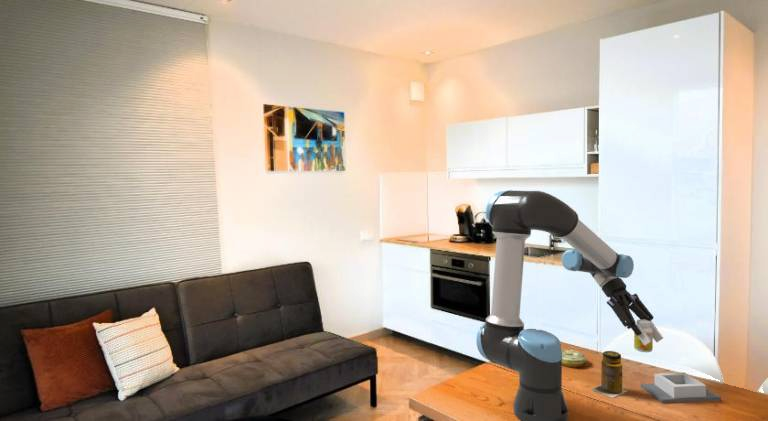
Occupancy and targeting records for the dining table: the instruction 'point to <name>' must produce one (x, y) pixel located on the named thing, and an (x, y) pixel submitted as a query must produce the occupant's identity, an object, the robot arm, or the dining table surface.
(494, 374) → the dining table surface
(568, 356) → the decorated donut
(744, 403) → the dining table surface
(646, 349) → the supplement bottle
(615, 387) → the condiment
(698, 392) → the socket plate
